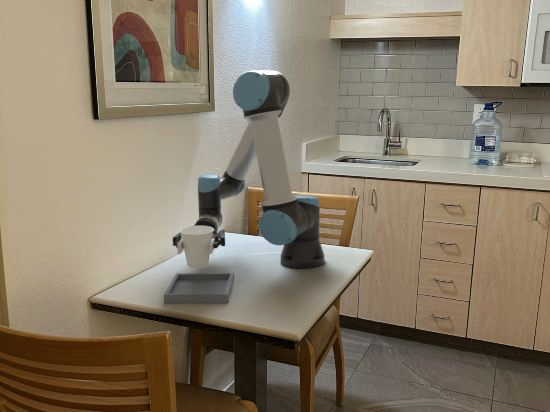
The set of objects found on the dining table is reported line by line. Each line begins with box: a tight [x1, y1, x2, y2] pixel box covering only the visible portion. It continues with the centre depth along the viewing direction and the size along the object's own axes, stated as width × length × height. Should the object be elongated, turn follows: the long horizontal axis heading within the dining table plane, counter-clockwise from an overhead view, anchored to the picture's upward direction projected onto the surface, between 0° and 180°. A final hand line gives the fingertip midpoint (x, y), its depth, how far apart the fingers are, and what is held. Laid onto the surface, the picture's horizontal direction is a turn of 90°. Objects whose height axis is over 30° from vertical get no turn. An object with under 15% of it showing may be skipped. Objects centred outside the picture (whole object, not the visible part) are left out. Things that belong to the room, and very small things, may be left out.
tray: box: [163, 272, 235, 304], centre depth 162 cm, size 18×18×2 cm
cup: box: [179, 225, 214, 270], centre depth 160 cm, size 10×10×11 cm
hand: (194, 249), depth 155 cm, fingers closed on cup, 8 cm apart
